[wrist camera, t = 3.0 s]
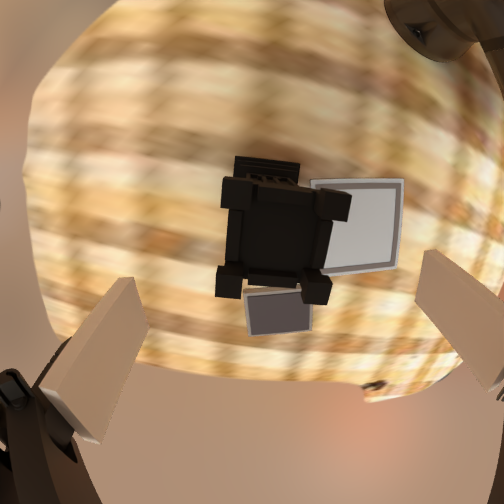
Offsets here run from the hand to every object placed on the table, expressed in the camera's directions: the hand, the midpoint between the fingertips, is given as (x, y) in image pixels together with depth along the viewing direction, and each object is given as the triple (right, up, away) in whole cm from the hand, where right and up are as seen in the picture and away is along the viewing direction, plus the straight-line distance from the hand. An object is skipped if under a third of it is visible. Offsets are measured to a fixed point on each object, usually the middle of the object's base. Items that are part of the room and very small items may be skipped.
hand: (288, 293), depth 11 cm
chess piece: (0, +10, +23) cm, 25 cm away
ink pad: (+3, -7, +30) cm, 31 cm away
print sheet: (+13, +5, +25) cm, 29 cm away
